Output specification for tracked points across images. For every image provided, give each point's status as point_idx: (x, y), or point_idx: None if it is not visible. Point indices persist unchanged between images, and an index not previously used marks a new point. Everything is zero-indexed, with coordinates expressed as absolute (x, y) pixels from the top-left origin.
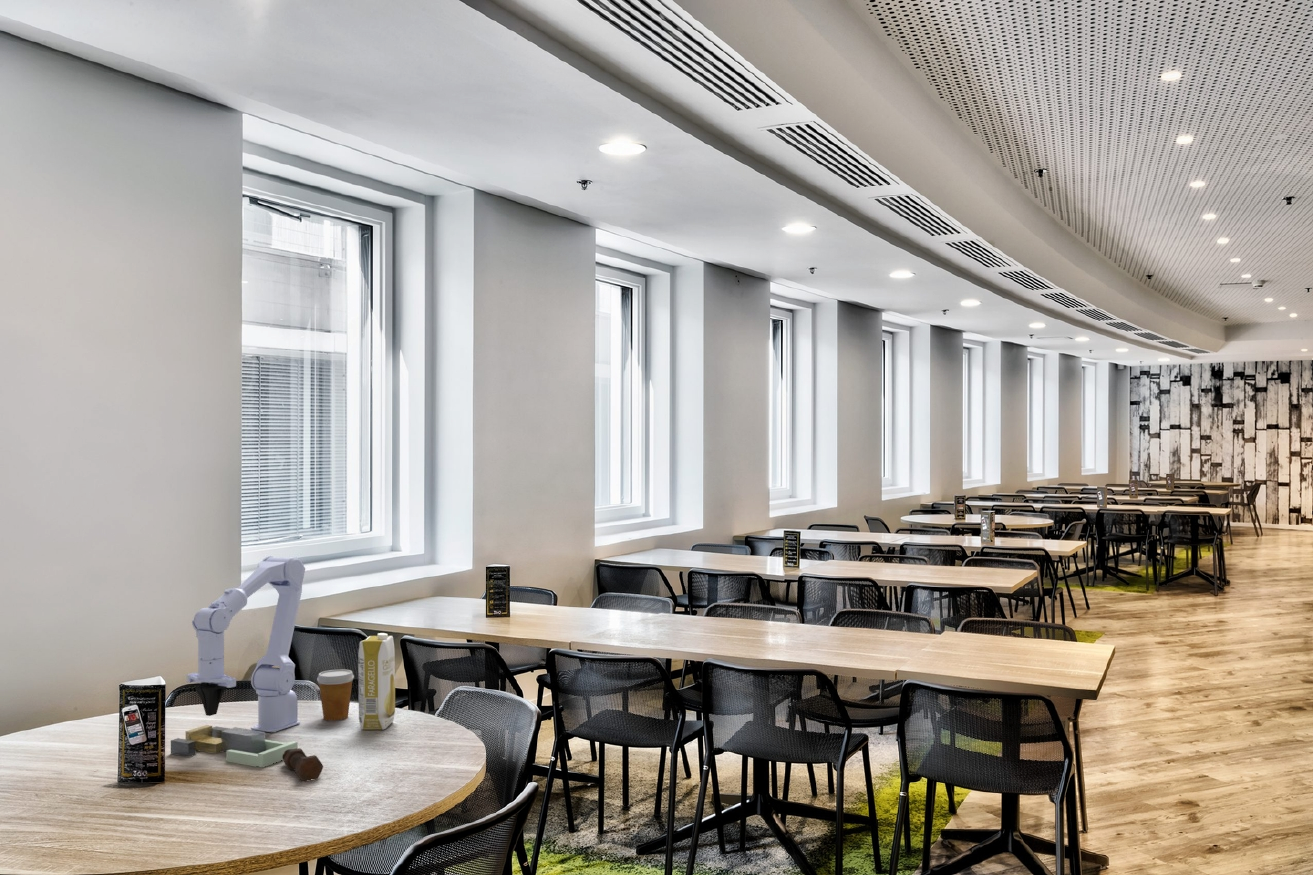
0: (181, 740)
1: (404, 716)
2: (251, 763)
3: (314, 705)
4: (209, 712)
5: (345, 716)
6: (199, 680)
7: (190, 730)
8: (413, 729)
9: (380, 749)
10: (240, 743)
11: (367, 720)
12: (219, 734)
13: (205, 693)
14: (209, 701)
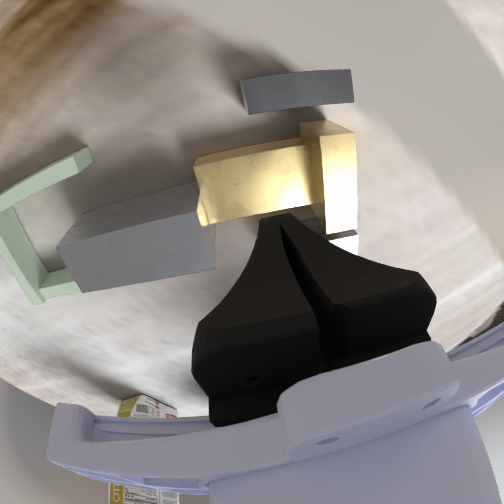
0: (310, 88)
1: None
2: (15, 184)
3: None
4: (259, 226)
5: None
6: (313, 423)
7: (348, 151)
8: (102, 407)
9: (27, 353)
10: (107, 218)
11: (129, 408)
12: None
13: (274, 294)
14: (246, 265)
